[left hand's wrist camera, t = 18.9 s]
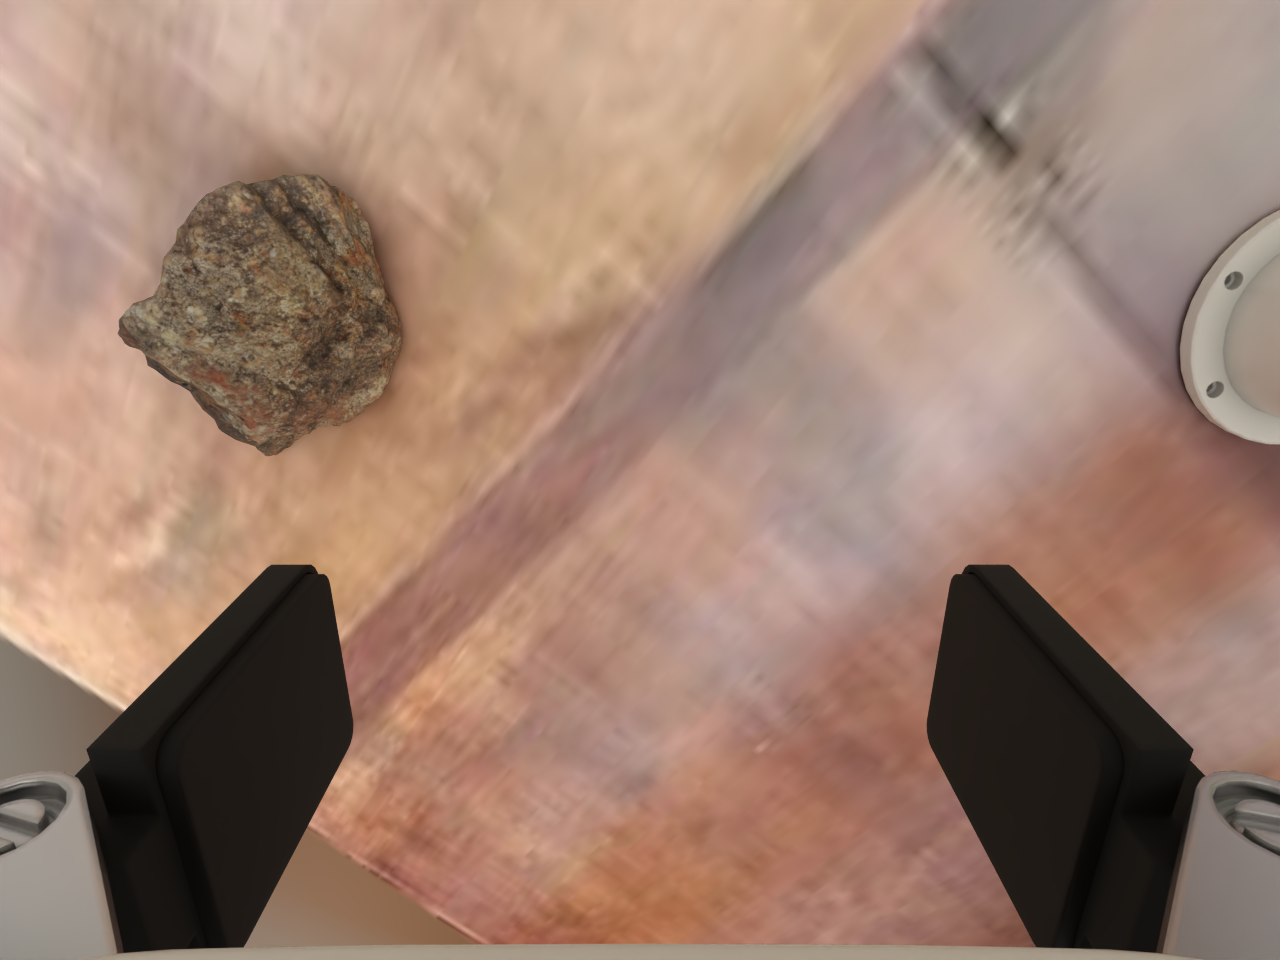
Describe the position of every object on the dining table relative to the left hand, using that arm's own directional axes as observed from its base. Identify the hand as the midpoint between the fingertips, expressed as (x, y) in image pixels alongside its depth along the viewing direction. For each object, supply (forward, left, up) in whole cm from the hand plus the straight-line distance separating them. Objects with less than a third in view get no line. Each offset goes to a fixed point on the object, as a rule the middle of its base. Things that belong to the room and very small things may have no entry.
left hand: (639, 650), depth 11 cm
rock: (+16, +7, -29) cm, 34 cm away
